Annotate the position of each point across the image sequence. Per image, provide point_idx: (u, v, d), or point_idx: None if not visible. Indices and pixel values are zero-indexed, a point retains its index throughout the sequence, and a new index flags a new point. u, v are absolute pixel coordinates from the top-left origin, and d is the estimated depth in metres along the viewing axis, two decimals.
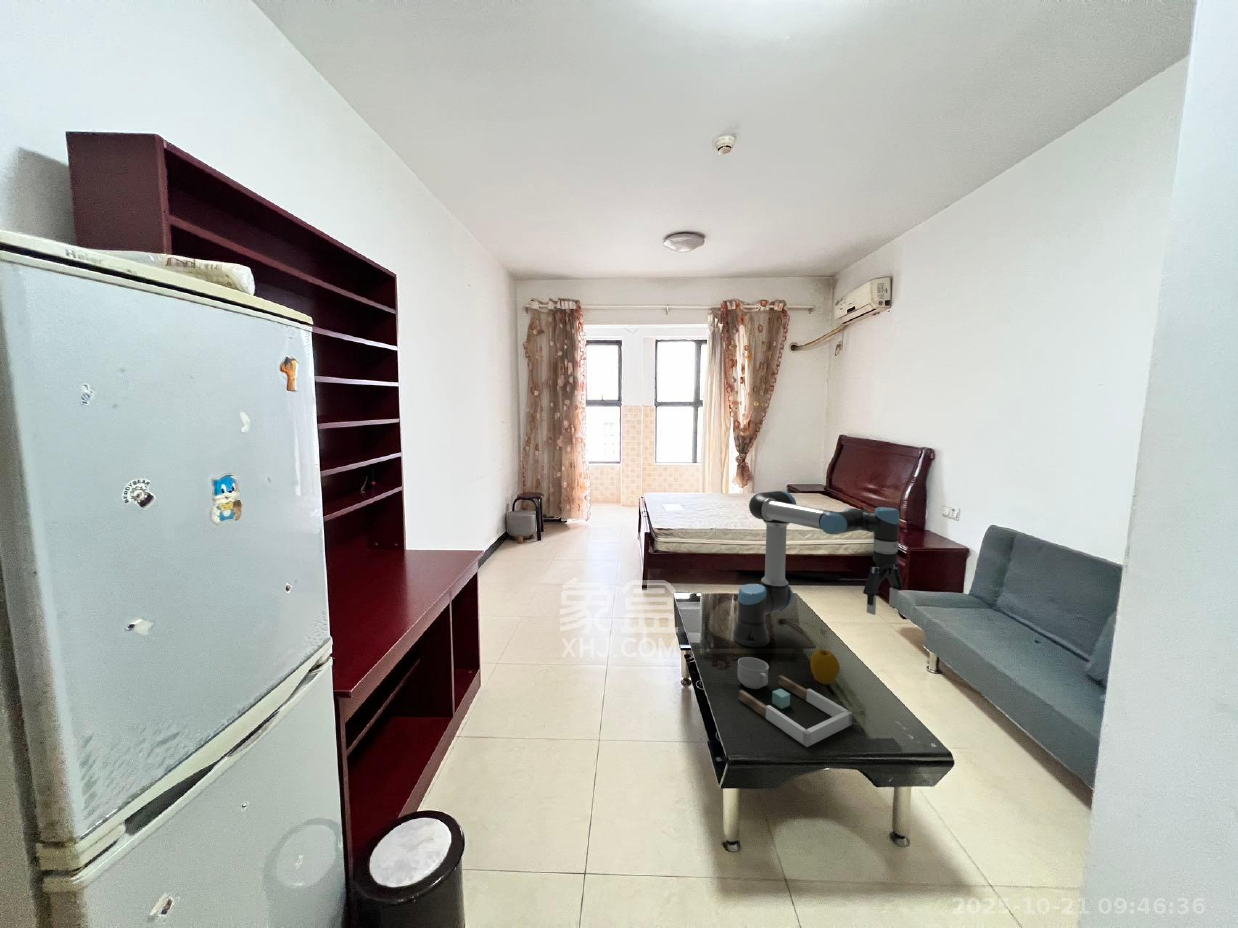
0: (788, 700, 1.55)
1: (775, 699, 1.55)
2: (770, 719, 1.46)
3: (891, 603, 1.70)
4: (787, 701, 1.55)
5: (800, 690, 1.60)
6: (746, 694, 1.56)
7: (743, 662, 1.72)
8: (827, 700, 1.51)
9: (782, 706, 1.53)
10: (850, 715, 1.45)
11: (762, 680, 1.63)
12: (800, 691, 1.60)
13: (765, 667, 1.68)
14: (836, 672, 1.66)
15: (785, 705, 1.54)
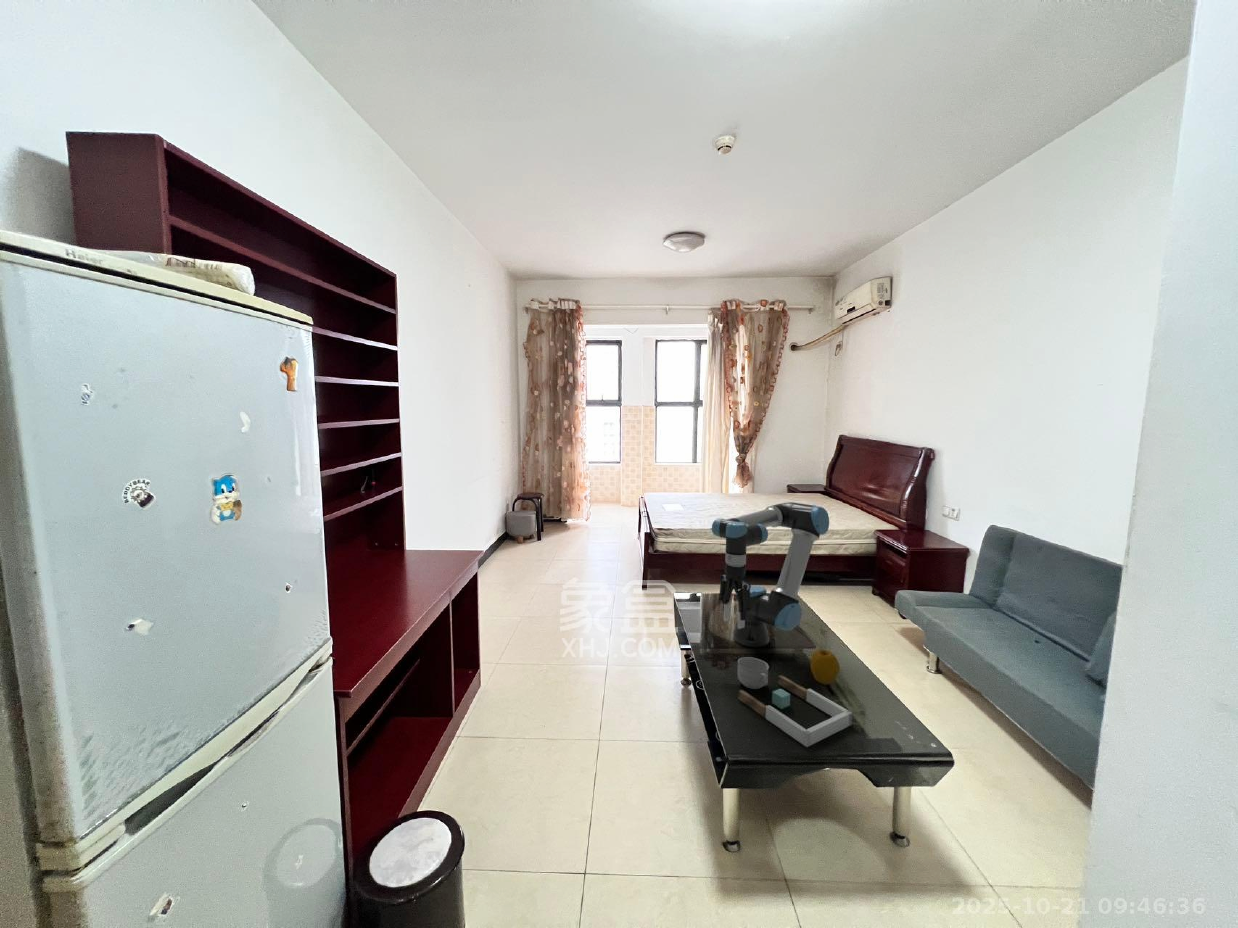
0: (788, 700, 1.55)
1: (775, 699, 1.55)
2: (770, 719, 1.46)
3: None
4: (787, 701, 1.55)
5: (800, 690, 1.60)
6: (746, 694, 1.56)
7: (743, 662, 1.72)
8: (827, 700, 1.51)
9: (782, 706, 1.53)
10: (850, 715, 1.45)
11: (762, 680, 1.63)
12: (800, 691, 1.60)
13: (765, 667, 1.68)
14: (836, 672, 1.66)
15: (785, 705, 1.54)
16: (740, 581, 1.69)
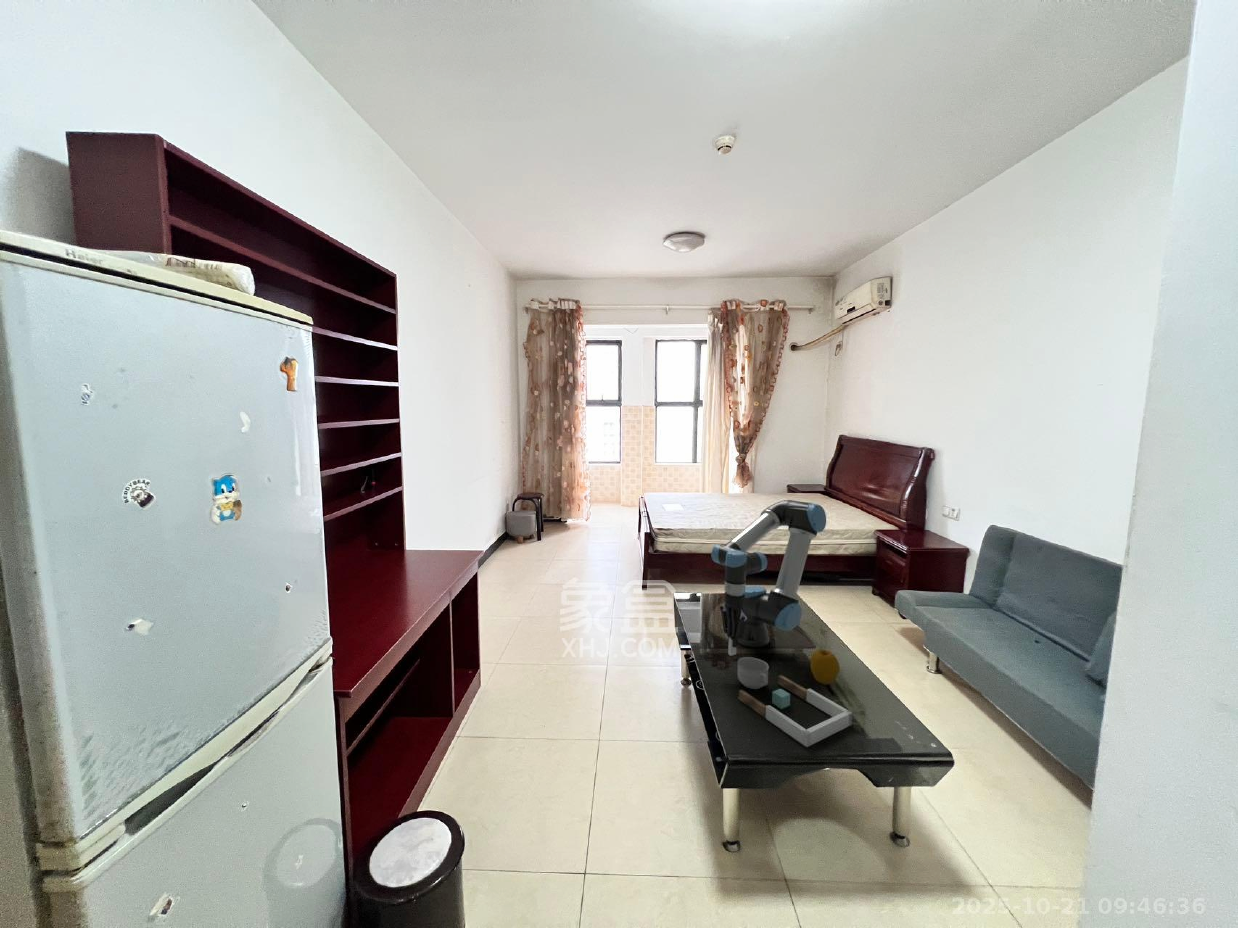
0: (788, 700, 1.55)
1: (775, 699, 1.55)
2: (770, 719, 1.46)
3: None
4: (787, 701, 1.55)
5: (800, 690, 1.60)
6: (746, 694, 1.56)
7: (743, 662, 1.72)
8: (827, 700, 1.51)
9: (782, 706, 1.53)
10: (850, 715, 1.45)
11: (762, 680, 1.63)
12: (800, 691, 1.60)
13: (765, 667, 1.68)
14: (836, 672, 1.66)
15: (785, 705, 1.54)
16: (739, 611, 1.70)
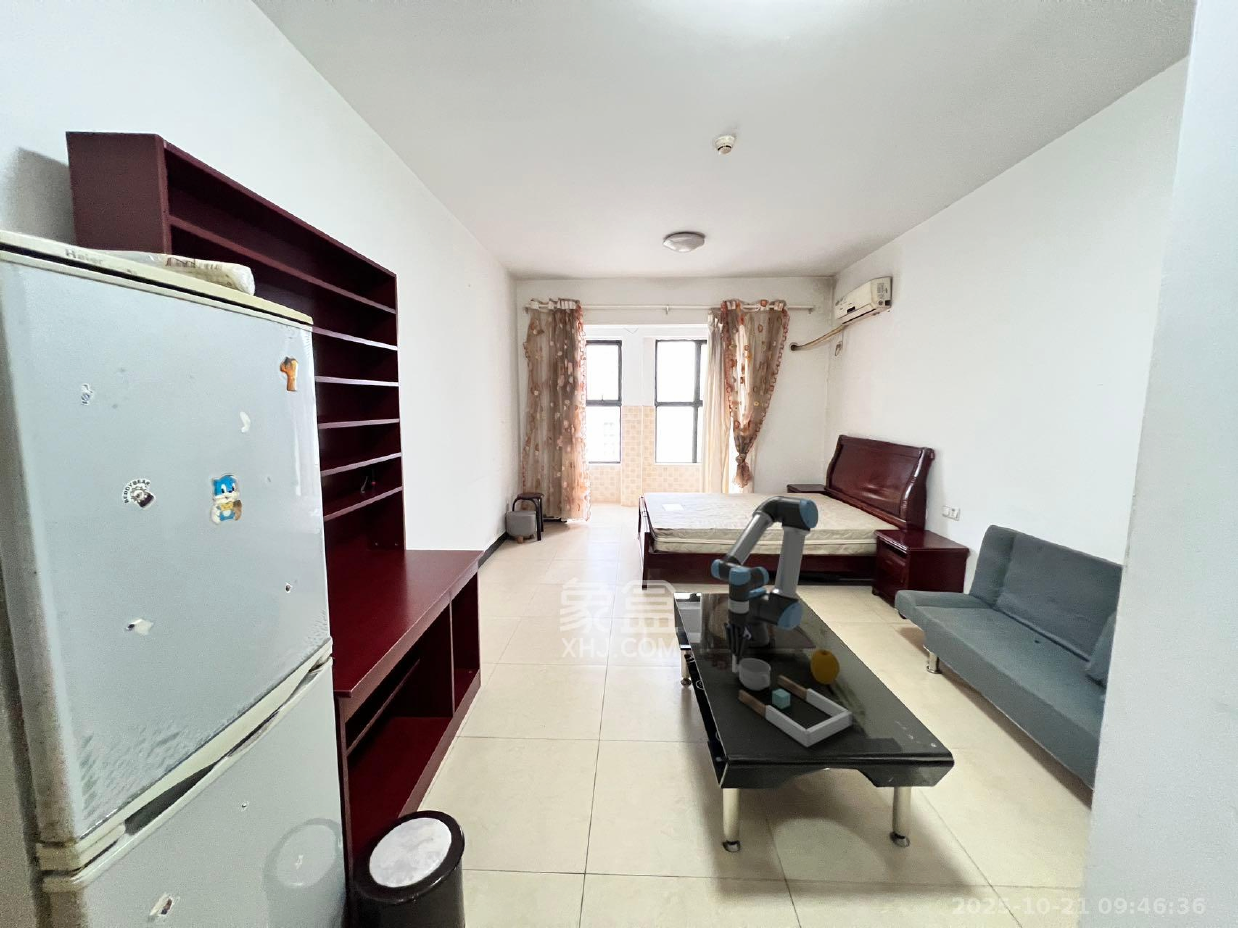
0: (788, 700, 1.55)
1: (775, 699, 1.55)
2: (770, 719, 1.46)
3: None
4: (787, 701, 1.55)
5: (800, 690, 1.60)
6: (746, 694, 1.56)
7: (745, 663, 1.71)
8: (827, 700, 1.51)
9: (782, 706, 1.53)
10: (850, 715, 1.45)
11: (764, 681, 1.62)
12: (800, 691, 1.60)
13: (767, 668, 1.67)
14: (836, 672, 1.66)
15: (785, 705, 1.54)
16: (743, 628, 1.69)
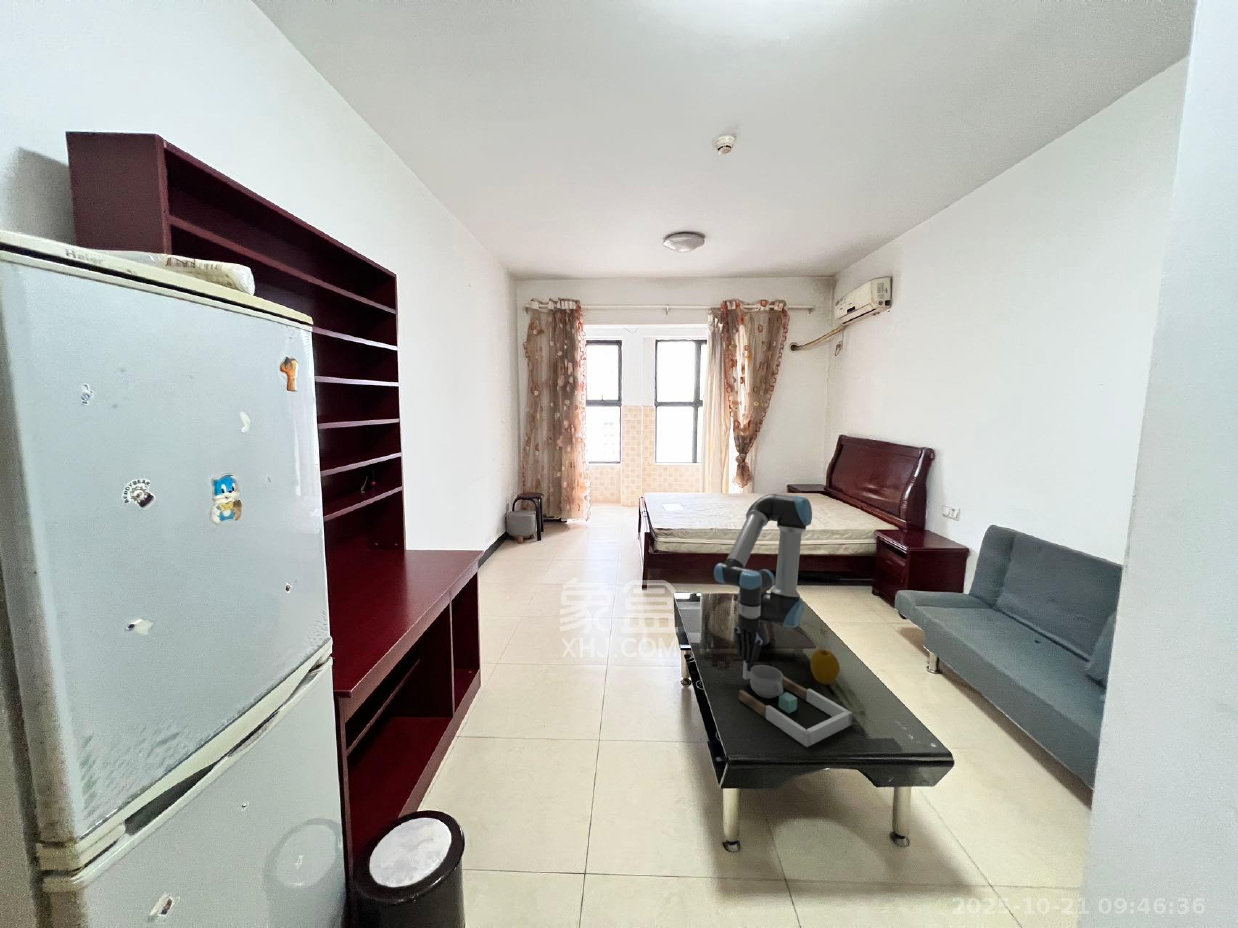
0: (795, 703, 1.53)
1: (782, 703, 1.53)
2: (770, 719, 1.46)
3: None
4: (794, 705, 1.52)
5: (800, 690, 1.60)
6: (746, 694, 1.56)
7: (756, 670, 1.66)
8: (827, 700, 1.51)
9: (789, 710, 1.51)
10: (850, 715, 1.45)
11: (776, 689, 1.57)
12: (800, 691, 1.60)
13: (779, 675, 1.63)
14: (836, 672, 1.66)
15: (792, 709, 1.52)
16: (754, 634, 1.64)
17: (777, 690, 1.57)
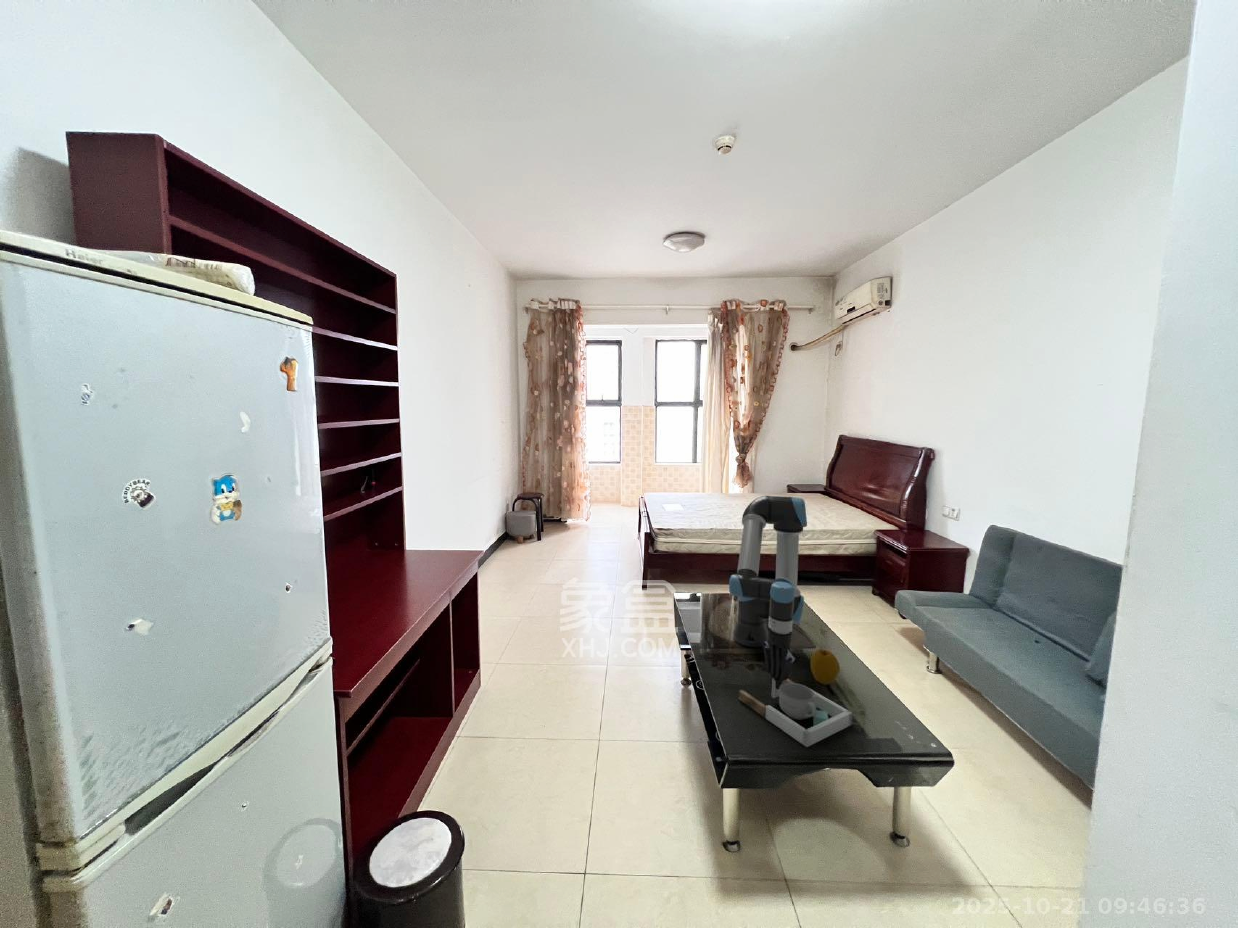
0: None
1: (818, 723, 1.43)
2: (770, 719, 1.46)
3: None
4: None
5: None
6: (746, 694, 1.56)
7: (784, 688, 1.54)
8: (827, 700, 1.51)
9: None
10: (850, 715, 1.45)
11: (809, 710, 1.46)
12: None
13: (810, 694, 1.51)
14: (836, 672, 1.66)
15: None
16: (786, 651, 1.52)
17: (809, 711, 1.46)
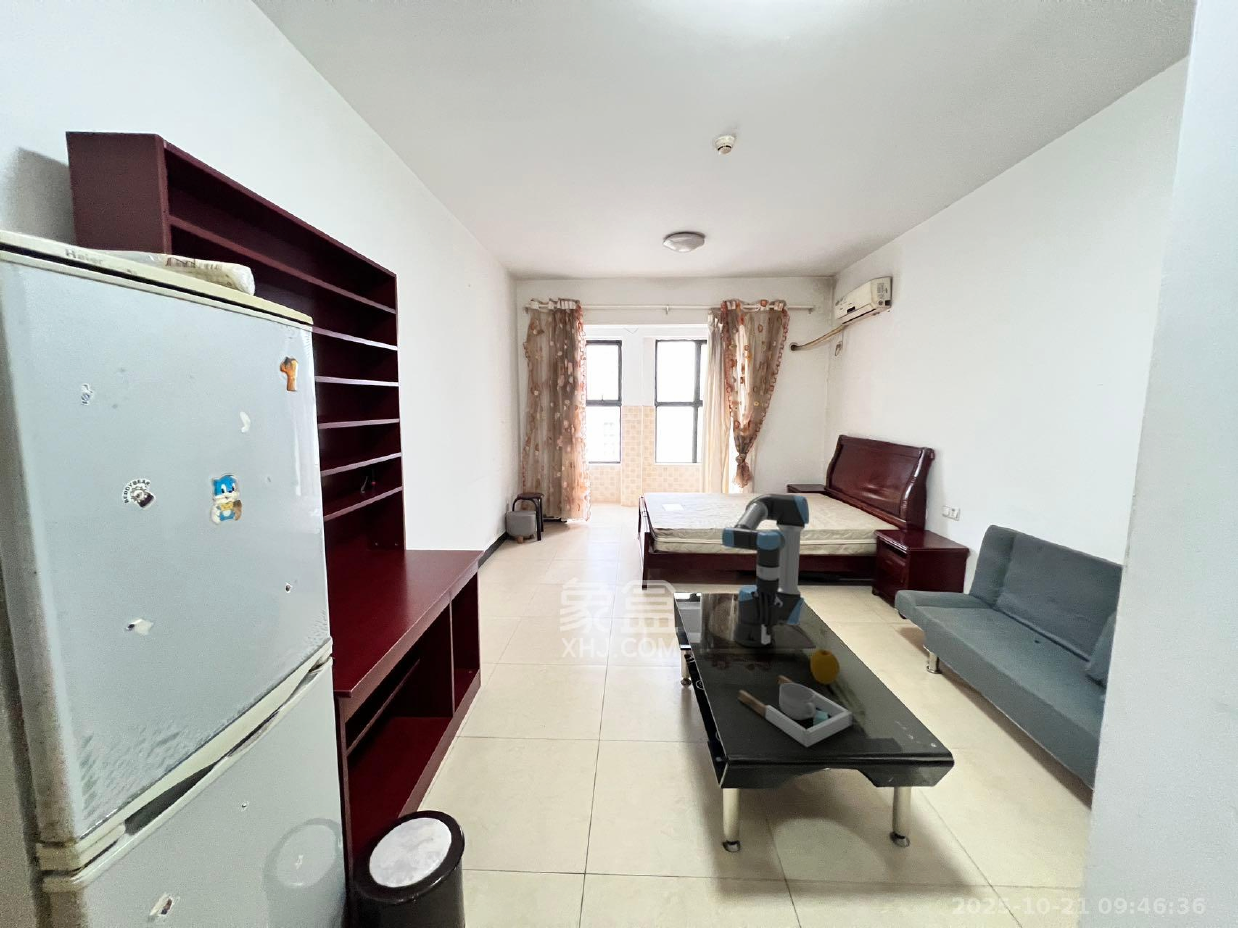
0: None
1: (818, 723, 1.43)
2: (770, 719, 1.46)
3: None
4: None
5: None
6: (746, 694, 1.56)
7: (785, 688, 1.54)
8: (827, 700, 1.51)
9: None
10: (850, 715, 1.45)
11: (808, 710, 1.45)
12: None
13: (810, 695, 1.51)
14: (836, 672, 1.66)
15: None
16: (773, 596, 1.56)
17: (809, 711, 1.46)
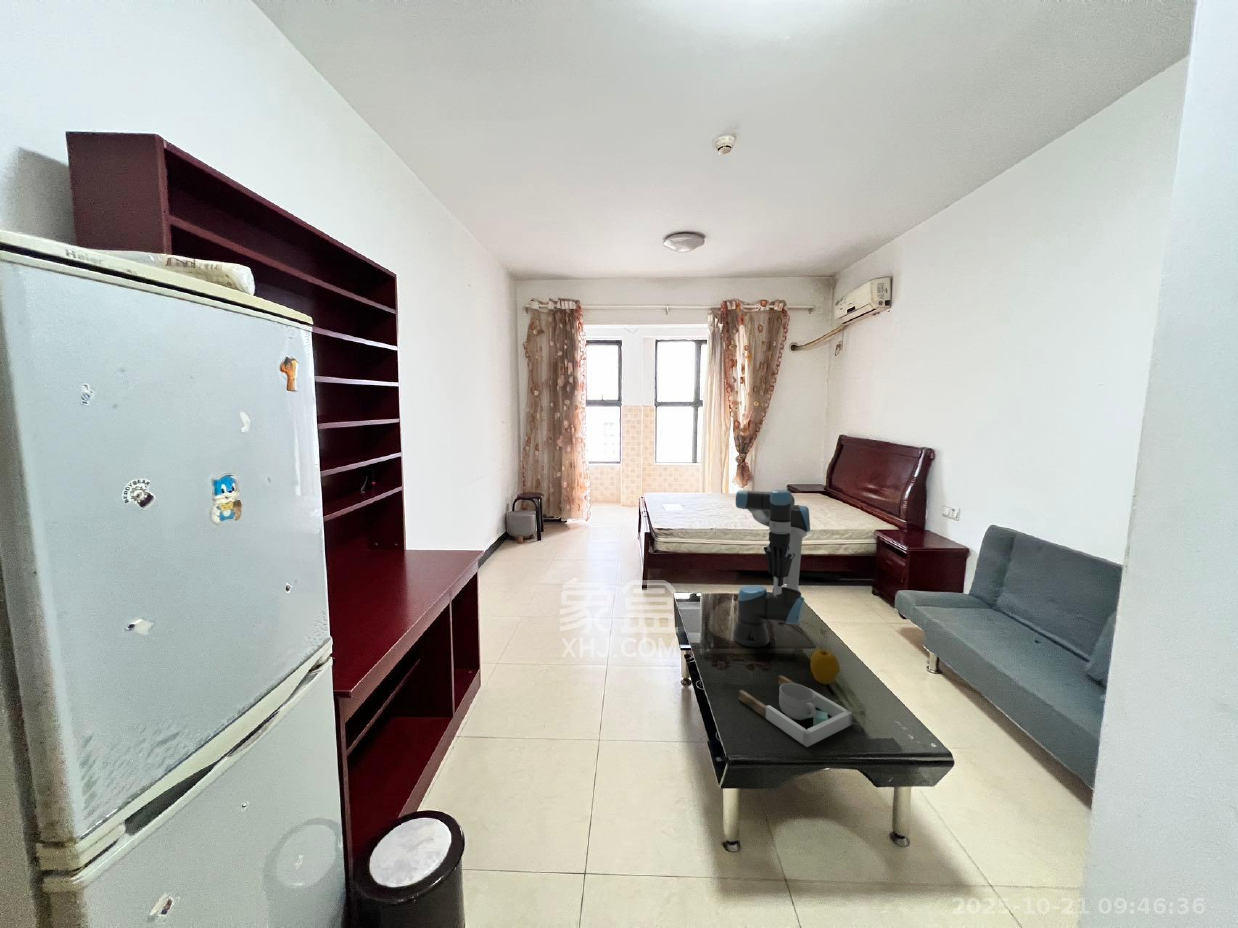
0: None
1: None
2: (770, 719, 1.46)
3: None
4: None
5: None
6: (746, 694, 1.56)
7: (785, 688, 1.54)
8: (827, 700, 1.51)
9: None
10: (850, 715, 1.45)
11: (808, 710, 1.45)
12: None
13: (810, 695, 1.51)
14: (836, 672, 1.66)
15: None
16: (785, 549, 1.70)
17: (809, 711, 1.46)
